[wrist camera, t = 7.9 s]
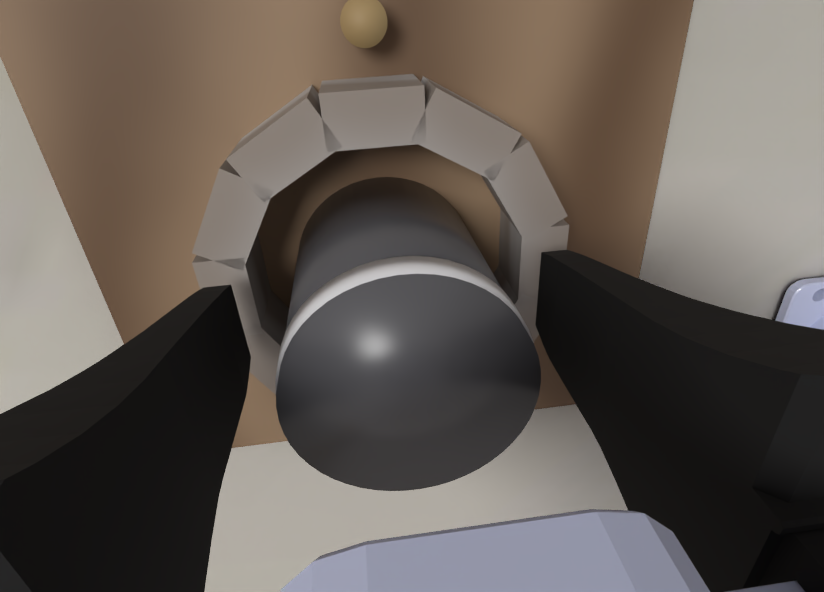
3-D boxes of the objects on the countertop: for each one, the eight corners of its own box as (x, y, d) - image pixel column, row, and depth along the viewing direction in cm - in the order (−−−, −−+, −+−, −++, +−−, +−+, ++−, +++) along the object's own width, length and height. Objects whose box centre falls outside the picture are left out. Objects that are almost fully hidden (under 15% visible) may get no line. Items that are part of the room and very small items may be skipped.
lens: (469, 164, 13) (552, 264, 8) (472, 322, 16) (536, 471, 11) (279, 186, 13) (241, 304, 8) (313, 344, 16) (302, 509, 11)
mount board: (685, -59, 12) (769, -75, 10) (604, 385, 19) (642, 439, 17) (-8, -18, 11) (-108, -24, 9) (178, 438, 18) (153, 504, 16)
